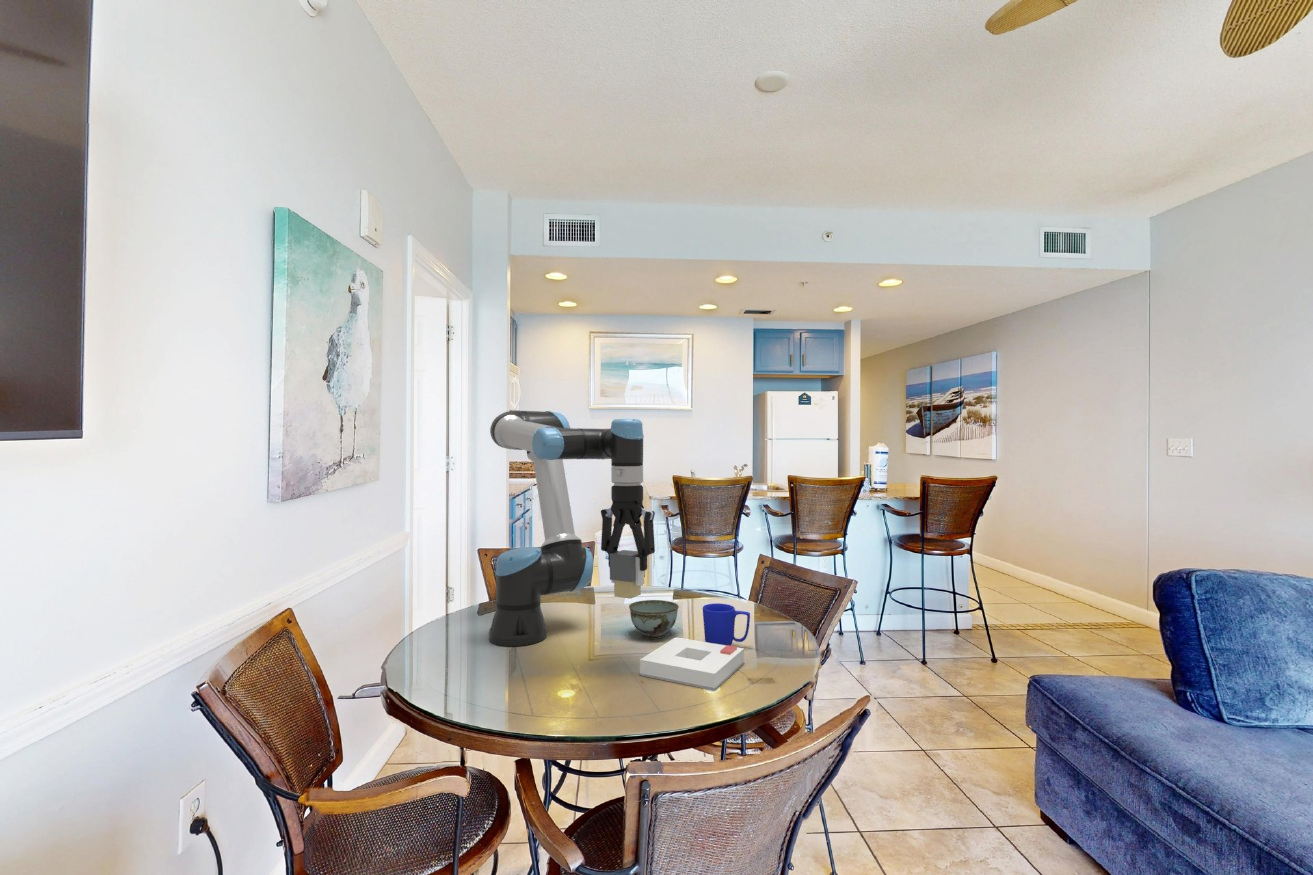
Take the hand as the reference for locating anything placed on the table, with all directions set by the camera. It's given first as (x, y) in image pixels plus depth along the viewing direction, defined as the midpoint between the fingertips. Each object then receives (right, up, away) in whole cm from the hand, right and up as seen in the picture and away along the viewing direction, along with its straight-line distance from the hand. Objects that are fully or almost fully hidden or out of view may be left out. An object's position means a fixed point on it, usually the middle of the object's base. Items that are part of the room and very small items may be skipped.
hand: (627, 582), depth 141 cm
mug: (+25, -20, +12) cm, 34 cm away
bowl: (+6, -20, +22) cm, 30 cm away
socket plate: (+15, -19, -3) cm, 25 cm away
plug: (0, -3, 0) cm, 3 cm away
